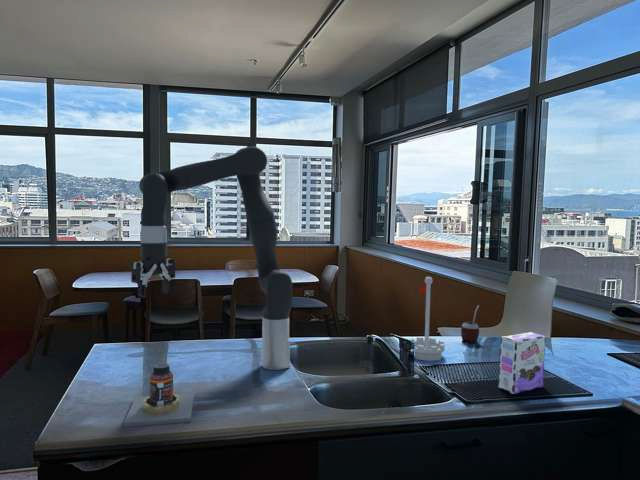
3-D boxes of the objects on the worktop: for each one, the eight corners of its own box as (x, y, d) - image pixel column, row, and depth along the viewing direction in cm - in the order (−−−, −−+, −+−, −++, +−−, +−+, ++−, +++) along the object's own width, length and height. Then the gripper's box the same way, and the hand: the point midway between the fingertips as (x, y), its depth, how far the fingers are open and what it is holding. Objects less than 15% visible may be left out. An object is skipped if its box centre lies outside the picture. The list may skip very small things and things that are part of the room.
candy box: (513, 394, 139) (515, 340, 138) (497, 388, 144) (499, 335, 143) (544, 387, 146) (546, 335, 144) (527, 380, 151) (530, 330, 150)
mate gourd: (462, 344, 191) (463, 308, 190) (459, 338, 198) (460, 304, 197) (481, 345, 189) (482, 309, 188) (477, 339, 197) (479, 305, 196)
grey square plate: (194, 396, 134) (194, 393, 134) (190, 421, 119) (190, 417, 119) (135, 400, 131) (135, 397, 131) (123, 426, 115) (123, 422, 115)
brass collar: (180, 398, 130) (180, 391, 130) (177, 413, 121) (177, 405, 121) (146, 401, 128) (146, 394, 128) (140, 415, 119) (140, 408, 119)
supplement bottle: (165, 412, 122) (165, 370, 121) (145, 410, 123) (144, 368, 122) (177, 403, 127) (177, 362, 127) (157, 401, 129) (157, 360, 128)
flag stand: (451, 357, 173) (454, 277, 171) (427, 363, 166) (429, 280, 164) (425, 348, 184) (427, 273, 182) (401, 354, 177) (403, 275, 175)
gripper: (142, 243, 131) (143, 300, 132) (181, 240, 143) (181, 292, 144) (124, 241, 134) (125, 297, 135) (163, 239, 147) (164, 290, 148)
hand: (154, 294), depth 140 cm, fingers open, 8 cm apart
